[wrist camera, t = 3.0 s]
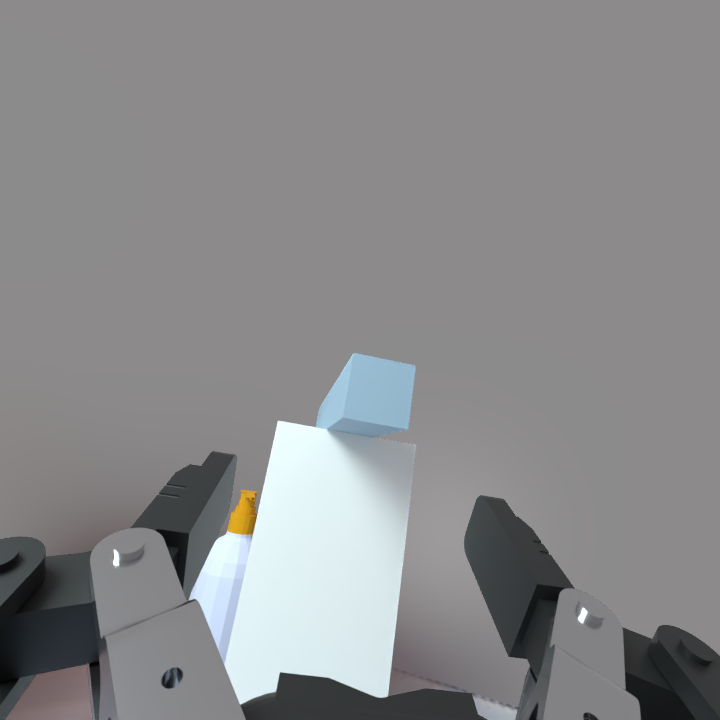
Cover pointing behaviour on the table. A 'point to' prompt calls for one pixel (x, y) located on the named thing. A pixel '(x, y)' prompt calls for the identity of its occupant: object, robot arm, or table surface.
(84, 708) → the table surface
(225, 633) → the soap bottle
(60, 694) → the table surface
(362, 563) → the storage box
